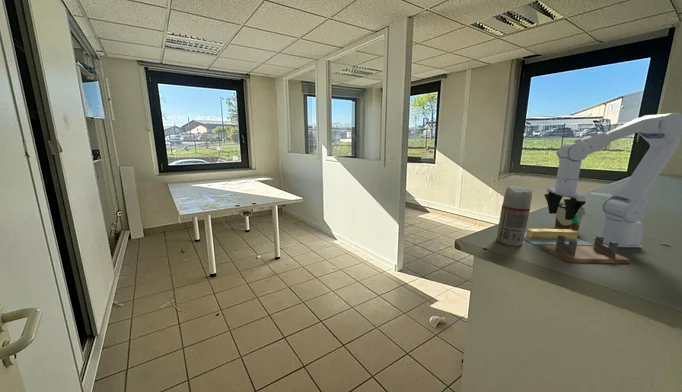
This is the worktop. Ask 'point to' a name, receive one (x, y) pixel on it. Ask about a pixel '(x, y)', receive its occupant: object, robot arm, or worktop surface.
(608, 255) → the hook stand
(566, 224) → the food container
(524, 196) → the spray can
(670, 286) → the worktop surface
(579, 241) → the rubber mat
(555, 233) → the brass rail
